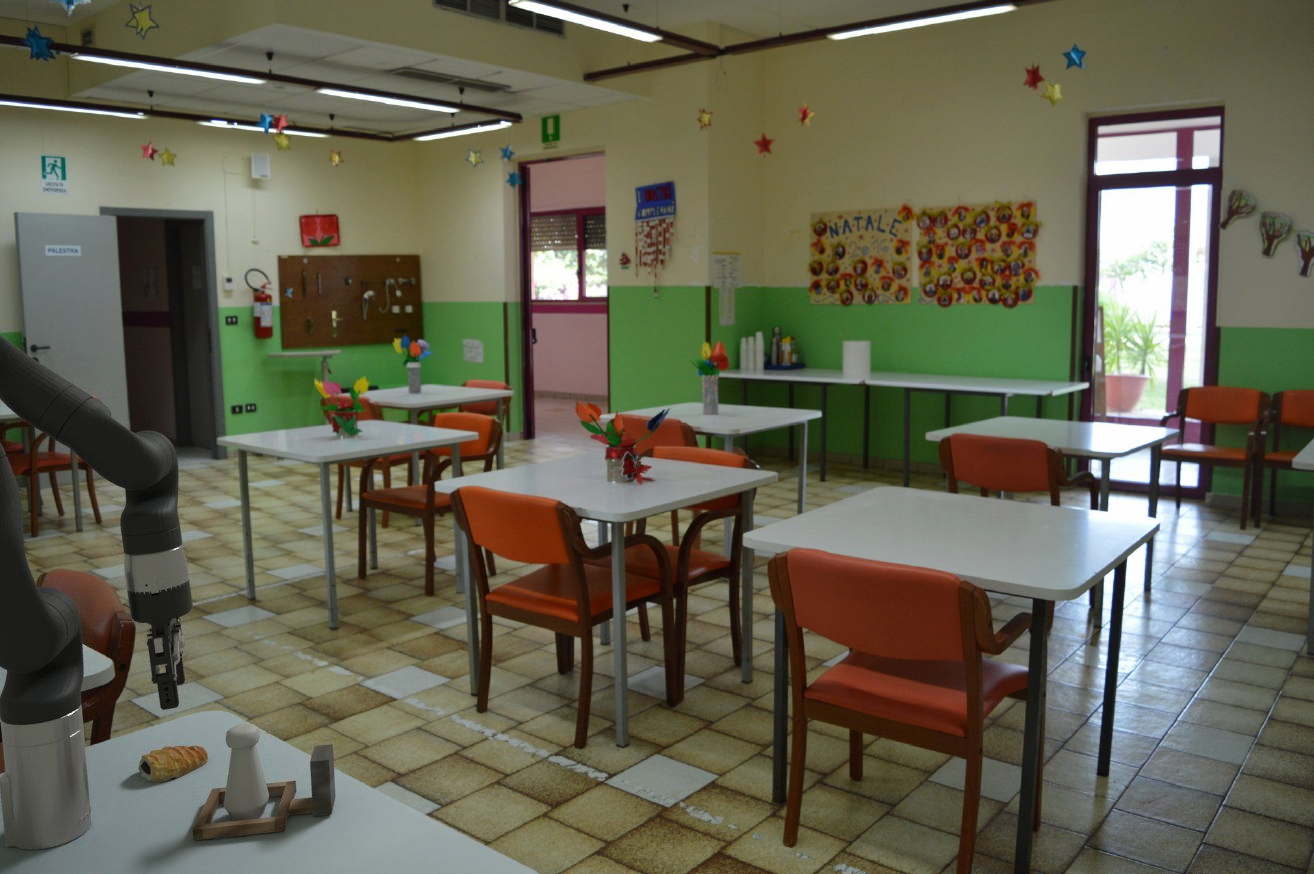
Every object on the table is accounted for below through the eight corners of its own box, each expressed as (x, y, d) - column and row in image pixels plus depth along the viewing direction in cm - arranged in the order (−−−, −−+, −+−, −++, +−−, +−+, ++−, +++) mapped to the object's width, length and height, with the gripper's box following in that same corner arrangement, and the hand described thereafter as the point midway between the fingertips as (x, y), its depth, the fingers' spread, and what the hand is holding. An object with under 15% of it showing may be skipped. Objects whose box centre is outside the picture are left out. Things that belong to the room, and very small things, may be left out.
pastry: (197, 753, 159) (195, 730, 159) (216, 766, 155) (215, 743, 154) (135, 774, 152) (133, 750, 152) (153, 789, 148) (152, 764, 147)
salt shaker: (253, 829, 136) (248, 738, 134) (215, 824, 137) (209, 734, 135) (278, 807, 142) (273, 720, 140) (241, 803, 143) (236, 717, 141)
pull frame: (193, 840, 133) (189, 783, 131) (212, 798, 144) (209, 745, 142) (329, 825, 136) (326, 770, 135) (337, 786, 147) (335, 734, 146)
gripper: (134, 571, 139) (149, 682, 141) (118, 600, 126) (135, 722, 128) (193, 563, 141) (207, 672, 144) (183, 591, 128) (199, 710, 131)
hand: (173, 696), depth 136 cm, fingers open, 8 cm apart
